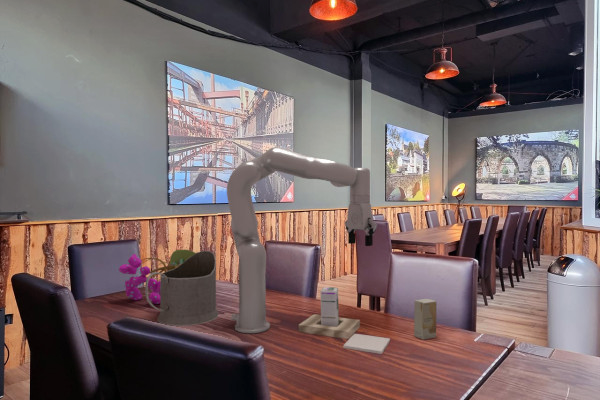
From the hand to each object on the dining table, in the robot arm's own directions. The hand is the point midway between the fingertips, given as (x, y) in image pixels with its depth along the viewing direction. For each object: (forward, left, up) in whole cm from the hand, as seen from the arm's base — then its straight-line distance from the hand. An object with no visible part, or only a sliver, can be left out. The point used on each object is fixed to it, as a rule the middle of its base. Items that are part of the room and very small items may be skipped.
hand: (360, 244), depth 152 cm
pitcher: (-64, -28, -29) cm, 76 cm away
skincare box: (+25, -9, -29) cm, 40 cm away
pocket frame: (-7, -15, -29) cm, 33 cm away
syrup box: (-7, -15, -29) cm, 34 cm away
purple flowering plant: (-94, -5, -29) cm, 98 cm away
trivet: (+9, -24, -29) cm, 39 cm away
